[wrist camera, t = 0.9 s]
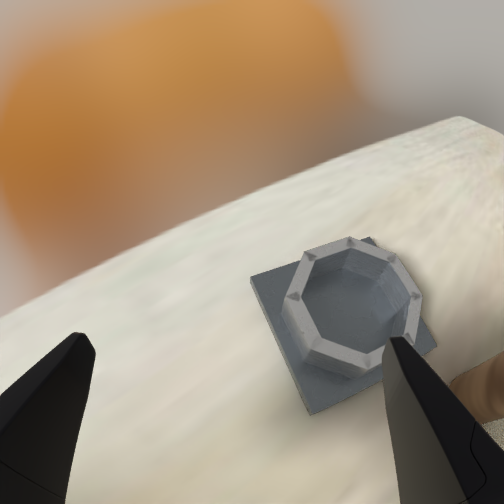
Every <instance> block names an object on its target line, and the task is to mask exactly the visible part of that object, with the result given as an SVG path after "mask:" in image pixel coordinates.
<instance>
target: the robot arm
mask: <svg viewBox="0 0 504 504" xmlns="http://www.w3.org/2000/svg"><path fill="white" fill-rule="evenodd" d="M95 356H96V353H95V349H94V347H93V346H92V344H91V342H90V341H89V339H88V337H87V336H86V334H84V333H79V332H74V333H72V334H70V335H69V336H68V337H67V338H66V339H64V340H63V341H62V342H61V343H60V344H59V345H57V346H56V347H55V348H54V349H53V350H51V351H50V352H49V353H48V354H47V355H46V356H44V357H43V358H42V359H41V360H40V361H38V362H37V363H36V364H35V365H34V366H33V367H32V368H30V369H29V370H28V371H27V372H26V373H25V374H24V375H22V376H21V377H20V378H19V379H18V380H17V381H16V382H14V383H13V384H12V385H11V386H10V387H9V388H8V389H7V390H5V391H4V392H3V393H2V394H1V396H0V504H65V499H66V493H67V487H68V482H69V477H70V471H71V466H72V462H73V457H74V452H75V448H76V443H77V439H78V435H79V430H80V426H81V422H82V418H83V414H84V411H85V407H86V403H87V399H88V394H89V389H90V384H91V378H92V372H93V367H94V362H95ZM382 370H383V381H384V393H385V405H386V413H387V418H388V424H389V429H390V435H391V441H392V447H393V453H394V459H395V466H396V473H397V480H398V488H399V496H400V504H504V451H503V450H502V448H501V447H500V446H499V445H498V444H497V443H496V442H495V441H494V440H493V439H492V438H491V437H490V435H489V434H488V433H487V432H486V431H485V430H484V428H483V427H482V426H481V425H480V424H479V422H478V421H475V418H474V417H473V415H472V414H471V413H470V412H469V411H468V409H467V408H466V407H465V406H464V405H463V403H462V402H461V401H460V400H459V399H458V398H457V396H456V395H455V394H454V393H453V392H452V391H451V389H450V388H449V387H448V386H447V385H446V384H445V382H444V381H443V380H442V379H441V378H440V377H439V376H438V374H437V373H436V372H435V371H434V370H433V369H432V368H431V367H430V365H429V364H428V363H427V362H426V361H425V360H424V359H423V358H422V357H421V355H420V354H419V353H418V352H417V351H416V350H415V349H414V348H413V347H412V345H411V344H410V343H409V342H408V341H407V340H406V339H405V338H404V337H403V336H392V337H389V338H388V339H387V342H386V345H385V348H384V351H383V354H382Z"/></svg>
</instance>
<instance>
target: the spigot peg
mask: <svg viewBox="0 0 504 504" xmlns="http://www.w3.org/2000/svg"><path fill="white" fill-rule="evenodd" d="M449 388H450V389H451V391H452V392H453V393H454V394H455V395H456V396H457V398H458V399H459V400H460V401H461V402H462V403H463V405H464V406H465V407H466V408H467V409H468V411H469V412H470V413H471V414H472V415H473V417H474V418H475V421H478V422H479V424H484V423H487V422H491V421H494V420H497V419H501V418H504V351H503V352H501V353H500V354H498V355H496V356H495V357H493V358H491V359H489V360H488V361H486V362H484V363H482V364H480V365H479V366H477V367H475V368H473V369H471V370H469V371H467V372H465V373H464V374H462V375H460V376H458V377H456V378H455V379H454V380H453V381H452V383H451V384H450V386H449Z"/></svg>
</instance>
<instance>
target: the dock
mask: <svg viewBox="0 0 504 504" xmlns="http://www.w3.org/2000/svg"><path fill="white" fill-rule="evenodd" d="M250 283H251V286H252V288H253V290H254V292H255V295H256V297H257V299H258V301H259V304H260V306H261V308H262V310H263V313H264V315H265V317H266V319H267V322H268V324H269V326H270V328H271V331H272V333H273V335H274V337H275V340H276V342H277V344H278V346H279V348H280V351H281V353H282V355H283V357H284V360H285V362H286V364H287V366H288V368H289V371H290V373H291V375H292V377H293V379H294V382H295V384H296V386H297V388H298V390H299V393H300V395H301V397H302V399H303V401H304V404H305V406H306V408H307V410H308V412H309V414H310V415H312V414H315V413H317V412H319V411H321V410H323V409H326V408H328V407H330V406H332V405H334V404H336V403H338V402H340V401H342V400H344V399H346V398H348V397H350V396H352V395H354V394H356V393H358V392H360V391H362V390H364V389H366V388H368V387H370V386H371V385H373V384H375V383H377V382H379V381H381V380H382V379H383V370H382V354H383V351H384V348H385V345H386V342H387V339H388V338H389V337H392V336H403V337H404V338H405V339H406V340H407V341H408V342H409V343H410V344H411V345H412V347H413V348H414V349H415V350H416V351H417V352H418V353H419V354H420V355H421V356H423V355H424V354H426V353H428V352H429V351H431V350H432V349H434V348H435V347H436V346H437V345H436V343H435V341H434V339H433V338H432V336H431V334H430V332H429V330H428V329H427V327H426V325H425V323H424V322H423V320H422V318H421V317H420V311H421V304H422V297H423V296H422V294H421V292H420V291H419V289H418V288H417V286H416V284H415V283H414V281H413V280H412V278H411V277H410V275H409V273H408V272H407V270H406V269H405V267H404V266H403V264H402V263H401V261H400V260H399V258H398V257H397V255H396V254H394V253H391V252H389V251H386V250H384V249H381V248H379V247H376V245H375V244H374V242H373V241H372V239H371V238H370V237H367V238H364V239H361V240H357V239H355V238H352V237H350V236H349V237H346V238H343V239H340V240H337V241H334V242H331V243H328V244H325V245H322V246H319V247H316V248H313V249H310V250H307V251H304V254H303V256H302V258H301V260H300V261H297V262H294V263H291V264H288V265H285V266H282V267H279V268H276V269H273V270H269V271H266V272H263V273H260V274H257V275H254V276H251V277H250Z"/></svg>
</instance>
